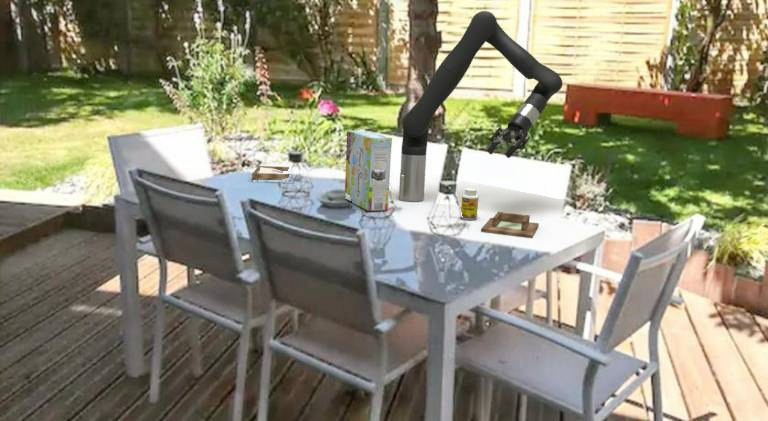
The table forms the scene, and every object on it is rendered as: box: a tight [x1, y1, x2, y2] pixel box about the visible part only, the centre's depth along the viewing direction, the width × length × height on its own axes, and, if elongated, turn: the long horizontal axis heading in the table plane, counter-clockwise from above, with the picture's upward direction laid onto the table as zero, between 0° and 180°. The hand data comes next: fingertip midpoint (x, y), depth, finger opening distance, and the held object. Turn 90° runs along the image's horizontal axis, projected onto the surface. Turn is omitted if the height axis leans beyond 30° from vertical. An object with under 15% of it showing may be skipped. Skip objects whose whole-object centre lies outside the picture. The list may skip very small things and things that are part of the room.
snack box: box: [344, 130, 393, 212], centre depth 253 cm, size 22×9×26 cm, turn 26°
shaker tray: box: [251, 165, 290, 181], centre depth 295 cm, size 16×17×4 cm
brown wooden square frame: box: [480, 211, 540, 239], centre depth 230 cm, size 16×16×4 cm
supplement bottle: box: [460, 187, 479, 221], centre depth 241 cm, size 6×6×10 cm
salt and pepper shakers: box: [257, 167, 283, 174], centre depth 295 cm, size 12×4×11 cm
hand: (497, 154), depth 244 cm, fingers open, 8 cm apart
